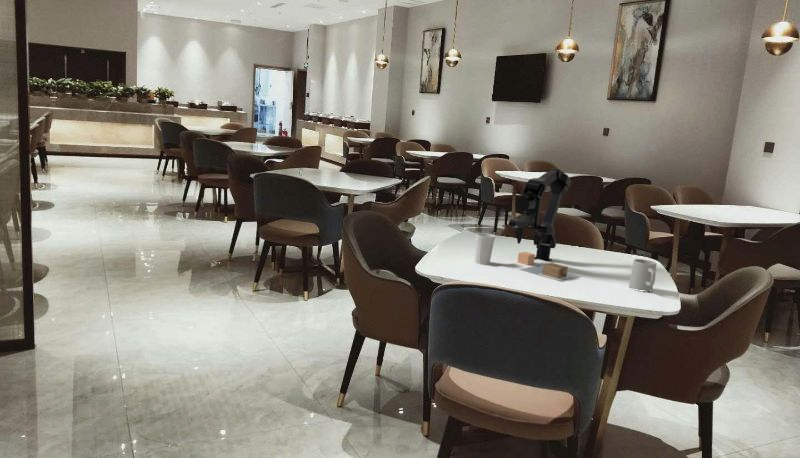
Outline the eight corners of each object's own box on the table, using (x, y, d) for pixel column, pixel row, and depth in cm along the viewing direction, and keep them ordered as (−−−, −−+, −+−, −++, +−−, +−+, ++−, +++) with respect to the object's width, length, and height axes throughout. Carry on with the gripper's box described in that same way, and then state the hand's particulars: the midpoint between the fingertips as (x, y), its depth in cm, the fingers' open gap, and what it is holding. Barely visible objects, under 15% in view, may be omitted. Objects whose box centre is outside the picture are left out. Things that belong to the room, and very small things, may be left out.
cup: (491, 266, 251) (494, 237, 249) (472, 263, 253) (475, 235, 251) (492, 261, 259) (495, 234, 257) (473, 259, 260) (476, 232, 258)
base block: (551, 272, 247) (552, 262, 247) (566, 276, 243) (567, 266, 242) (541, 274, 242) (543, 264, 242) (557, 278, 238) (558, 268, 237)
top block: (523, 262, 263) (525, 251, 262) (533, 265, 260) (535, 254, 259) (517, 264, 260) (518, 252, 259) (527, 266, 256) (528, 255, 255)
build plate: (539, 266, 259) (539, 265, 258) (582, 278, 245) (582, 276, 245) (518, 271, 247) (518, 269, 247) (561, 283, 234) (562, 281, 233)
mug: (624, 285, 240) (629, 258, 238) (644, 286, 242) (649, 259, 240) (640, 294, 229) (645, 266, 227) (661, 295, 230) (666, 267, 228)
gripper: (503, 206, 256) (499, 242, 259) (541, 214, 243) (536, 252, 246) (518, 205, 264) (513, 240, 267) (556, 213, 251) (551, 249, 254)
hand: (528, 245), depth 258 cm, fingers open, 9 cm apart
